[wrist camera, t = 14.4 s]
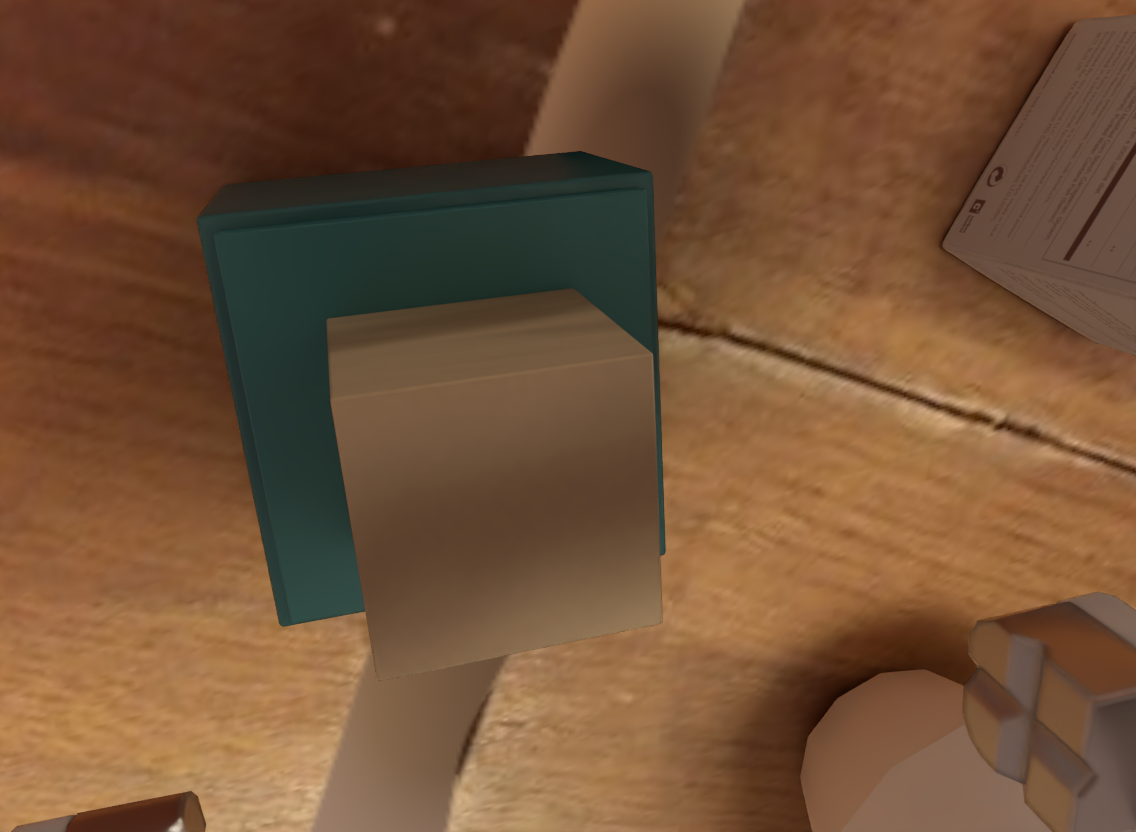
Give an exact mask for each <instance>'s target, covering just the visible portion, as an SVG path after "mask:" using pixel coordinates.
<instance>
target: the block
mask: <svg viewBox="0 0 1136 832" xmlns="http://www.w3.org/2000/svg"><path fill="white" fill-rule="evenodd" d="M326 324H327V344H328V364H329V383H330V402H331V408H332V414H333V420H334V426H335V432H336V438H337V444H338V450H339V456H340V462H341V468H342V474H343V480H344V486H345V492H346V498H347V504H348V510H349V516H350V522H351V528H352V534H353V540H354V546H355V552H356V558H357V564H358V570H359V576H360V582H361V588H362V594H363V600H364V606H365V612H366V618H367V624H368V630H369V636H370V642H371V648H372V654H373V660H374V666H375V672H376V678H377V680H378V681H383V680H388V679H393V678H398V677H403V676H408V675H413V674H418V673H423V672H427V671H432V670H437V669H442V668H447V667H452V666H457V665H461V664H466V663H471V662H476V661H481V660H486V659H491V658H496V657H501V656H506V655H511V654H516V653H521V652H525V651H530V650H535V649H540V648H545V647H550V646H555V645H560V644H565V643H570V642H574V641H579V640H584V639H589V638H594V637H599V636H604V635H609V634H614V633H619V632H623V631H628V630H633V629H638V628H643V627H648V626H653V625H658V624H661V623H662V622H663V616H662V588H661V560H660V532H659V504H658V477H657V449H656V421H655V393H654V365H653V354H652V353H651V352H650V351H649V350H648V349H646V348H645V347H644V346H643V345H642V344H640V343H639V342H638V341H637V340H635V339H634V338H633V337H632V336H631V335H629V334H628V333H627V332H626V331H625V330H623V329H622V328H621V327H620V326H619V325H617V324H616V323H615V322H614V321H613V320H611V319H610V318H609V317H608V316H607V315H605V314H604V313H603V312H602V311H600V310H599V309H598V308H597V307H596V306H594V305H593V304H592V303H591V302H590V301H588V300H587V299H586V298H585V297H584V296H582V295H581V294H580V293H579V292H578V291H576V290H575V289H573V288H570V289H562V290H554V291H546V292H538V293H530V294H522V295H514V296H505V297H497V298H489V299H481V300H473V301H465V302H457V303H449V304H441V305H433V306H425V307H417V308H409V309H401V310H393V311H385V312H377V313H368V314H360V315H352V316H344V317H336V318H329V319H327V321H326Z"/></svg>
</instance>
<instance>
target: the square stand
mask: <svg viewBox="0 0 1136 832" xmlns="http://www.w3.org/2000/svg"><path fill="white" fill-rule="evenodd" d="M197 226H198V231H199V235H200V240H201V245H202V250H203V255H204V260H205V265H206V269H207V274H208V279H209V284H210V289H211V294H212V299H213V304H214V308H215V313H216V318H217V323H218V328H219V333H220V338H221V342H222V347H223V352H224V357H225V362H226V367H227V372H228V377H229V381H230V386H231V391H232V396H233V401H234V406H235V411H236V415H237V420H238V425H239V430H240V435H241V440H242V445H243V450H244V454H245V459H246V464H247V469H248V474H249V479H250V484H251V488H252V493H253V498H254V503H255V508H256V513H257V518H258V523H259V527H260V532H261V537H262V542H263V547H264V552H265V557H266V561H267V566H268V571H269V576H270V581H271V586H272V591H273V596H274V600H275V605H276V610H277V615H278V620H279V624H280V625H281V626H290V625H295V624H300V623H306V622H311V621H316V620H322V619H327V618H332V617H337V616H343V615H348V614H353V613H359V612H364V611H365V606H364V600H363V594H362V588H361V582H360V576H359V570H358V564H357V558H356V552H355V546H354V540H353V534H352V528H351V522H350V516H349V510H348V504H347V498H346V492H345V486H344V480H343V474H342V468H341V462H340V456H339V450H338V444H337V438H336V432H335V426H334V420H333V414H332V408H331V402H330V383H329V364H328V344H327V324H326V321H327V319H329V318H336V317H344V316H352V315H360V314H368V313H377V312H385V311H393V310H401V309H409V308H417V307H425V306H433V305H441V304H449V303H457V302H465V301H473V300H481V299H489V298H497V297H505V296H514V295H522V294H530V293H538V292H546V291H554V290H562V289H570V288H573V289H575V290H576V291H578V292H579V293H580V294H581V295H582V296H584V297H585V298H586V299H587V300H588V301H590V302H591V303H592V304H593V305H594V306H596V307H597V308H598V309H599V310H600V311H602V312H603V313H604V314H605V315H607V316H608V317H609V318H610V319H611V320H613V321H614V322H615V323H616V324H617V325H619V326H620V327H621V328H622V329H623V330H625V331H626V332H627V333H628V334H629V335H631V336H632V337H633V338H634V339H635V340H637V341H638V342H639V343H640V344H642V345H643V346H644V347H645V348H646V349H648V350H649V351H650V352H651V353H652V354H653V365H654V393H655V421H656V449H657V477H658V504H659V532H660V556H661V555H664V554H665V551H666V549H665V520H664V490H663V461H662V431H661V402H660V372H659V342H658V313H657V283H656V254H655V227H654V226H655V225H654V195H653V175H652V172H650V171H647V170H643V169H640V168H636V167H633V166H629V165H626V164H623V163H619V162H616V161H612V160H609V159H605V158H602V157H599V156H595V155H592V154H589V153H585V152H582V151H578V152H568V153H556V154H546V155H535V156H524V157H513V158H503V159H492V160H481V161H471V162H460V163H449V164H438V165H428V166H417V167H406V168H396V169H385V170H374V171H364V172H353V173H342V174H331V175H321V176H310V177H299V178H289V179H278V180H267V181H257V182H246V183H235V184H225V185H224V186H222V188H221V189H220V190H219V191H218V192H217V194H216V195H215V196H214V197H213V199H212V200H211V201H210V202H209V204H208V205H207V206H206V207H205V209H204V210H203V211H202V212H201V214H200V215H199V216H198V217H197Z"/></svg>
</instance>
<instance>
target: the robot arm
mask: <svg viewBox="0 0 1136 832" xmlns="http://www.w3.org/2000/svg"><path fill="white" fill-rule="evenodd" d="M968 654H969V656H970V657H971V658H972V660H973V661H974V662H975V664H976V665H977V666H978V667H977V669H976V670H975V672H974V673H973V675H972V676H971V677H970V679H969V680H968V682H967V683H966V684H965V686H964V690H963V706H962V714H963V718H964V721H965V724H966V728H967V731H968V735H969V738H970V740H971V741H972V743H973V745H974V746H975V748H976V750H977V751H978V753H979V755H980V756H981V757H982V758H983V759H984V761H985V762H986V763H987V764H988V765H989V766H990V767H991V768H992V769H993V770H994V771H995V772H996V773H998V774H1000V775H1002V776H1005V777H1007V778H1009V779H1012V780H1014V781H1016V782H1019V783H1021V784H1023V793H1024V803H1025V804H1026V805H1027V806H1028V807H1029V808H1030V809H1031V810H1032V811H1033V812H1034V813H1035V814H1036V815H1037V816H1038V817H1039V818H1040V819H1041V821H1042V822H1043V823H1044V824H1045V825H1046V826H1047V827H1048V828H1049V829H1050V830H1051V831H1052V832H1136V610H1135V609H1134V608H1132V607H1131V606H1129V605H1128V604H1126V603H1125V602H1123V601H1122V600H1120V599H1119V598H1117V597H1116V596H1113V595H1109V594H1105V593H1101V592H1095V593H1091V594H1087V595H1082V596H1078V597H1074V598H1070V599H1066V600H1062V601H1058V602H1057V603H1056V604H1050V605H1045V606H1041V607H1036V608H1032V609H1027V610H1023V611H1019V612H1014V613H1010V614H1005V615H1001V616H996V617H992V618H987V619H983V620H978V621H977V622H976V624H975V626H974V627H973V629H972V631H971V633H970V637H969V645H968ZM205 828H206V822H205V819H204V816H203V812H202V809H201V806H200V803H199V799H198V796H197V795H195V794H194V793H193V792H192V791H189V792H184V793H178V794H173V795H168V796H163V797H158V798H153V799H148V800H142V801H137V802H132V803H127V804H122V805H117V806H112V807H107V808H101V809H96V810H91V811H86V812H81V813H77V815H69V816H64V817H59V818H55V819H50V820H45V821H40V822H35V823H30V824H25V825H20V826H17V827H16V828H15V829H14V830H12V831H11V832H205Z"/></svg>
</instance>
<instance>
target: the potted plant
mask: <svg viewBox="0 0 1136 832" xmlns="http://www.w3.org/2000/svg"><path fill="white" fill-rule="evenodd" d="M963 690H964V686H963V685H961V684H959V683H956V682H954V681H951V680H949V679H947V678H944V677H942V676H939V675H937V674H935V673H932V672H930V671H927V670H925V669H921V670H910V671H898V672H887V673H880V674H878V675H876V676H875V677H873V678H871V679H869V680H868V681H866V682H864V683H863V684H861V685H859V686H857V687H856V688H854V689H852V690H851V691H849V692H847V693H845V694H844V695H842V696H840V697H838V698H837V699H836V701H835V702H834V703H833V705H832V706H831V707H830V709H829V710H828V711H827V712H826V714H825V715H824V716H823V718H822V719H821V720H820V722H819V723H818V724H817V726H816V727H815V728H814V729H813V731H812V732H811V733H810V735H809V736H808V739H807V744H806V749H805V754H804V760H803V765H802V770H801V775H800V780H801V784H802V789H803V793H804V798H805V802H806V807H807V811H808V816H809V820H810V824H811V829H812V832H1052V831H1051V830H1050V829H1049V828H1048V827H1047V826H1046V825H1045V824H1044V823H1043V822H1042V821H1041V819H1040V818H1039V817H1038V816H1037V815H1036V814H1035V813H1034V812H1033V811H1032V810H1031V809H1030V808H1029V807H1028V806H1027V805H1026V804H1025V803H1024V793H1023V784H1021V783H1019V782H1016V781H1014V780H1012V779H1009V778H1007V777H1005V776H1002V775H1000V774H998V773H996V772H995V771H994V770H993V769H992V768H991V767H990V766H989V765H988V764H987V763H986V762H985V761H984V759H983V758H982V757H981V756H980V755H979V753H978V751H977V750H976V748H975V746H974V745H973V743H972V741H971V740H970V738H969V735H968V731H967V728H966V724H965V721H964V718H963V714H962V706H963Z"/></svg>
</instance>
